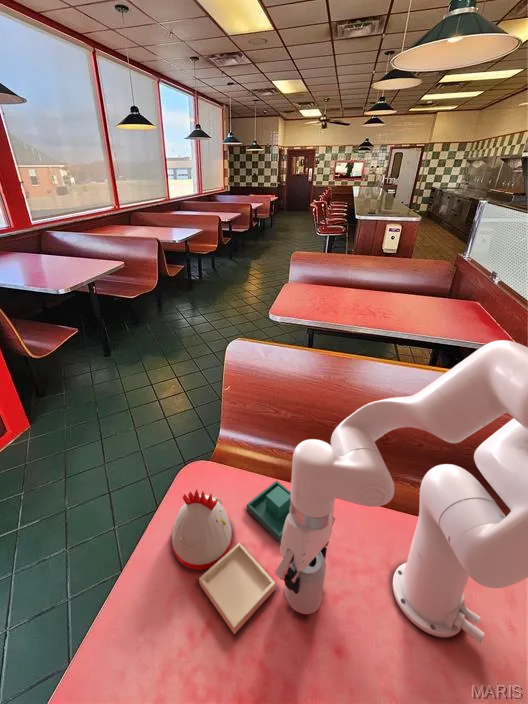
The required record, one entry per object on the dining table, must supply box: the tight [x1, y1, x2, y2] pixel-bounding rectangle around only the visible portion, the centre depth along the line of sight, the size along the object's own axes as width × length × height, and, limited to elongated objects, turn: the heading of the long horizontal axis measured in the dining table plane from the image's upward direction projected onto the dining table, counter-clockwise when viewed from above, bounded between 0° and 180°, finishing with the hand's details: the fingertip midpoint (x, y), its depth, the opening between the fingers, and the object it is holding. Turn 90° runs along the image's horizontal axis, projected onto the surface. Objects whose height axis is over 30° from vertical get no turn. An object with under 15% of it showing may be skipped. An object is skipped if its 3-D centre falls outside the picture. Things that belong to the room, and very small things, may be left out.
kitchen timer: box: [171, 488, 233, 571], centre depth 75 cm, size 14×14×15 cm
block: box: [266, 486, 290, 520], centre depth 83 cm, size 4×4×4 cm
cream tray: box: [198, 541, 277, 635], centre depth 68 cm, size 11×11×2 cm
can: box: [283, 551, 327, 615], centre depth 65 cm, size 8×8×12 cm
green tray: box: [246, 480, 291, 543], centre depth 84 cm, size 11×11×2 cm
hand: (304, 570), depth 64 cm, fingers closed on can, 7 cm apart
